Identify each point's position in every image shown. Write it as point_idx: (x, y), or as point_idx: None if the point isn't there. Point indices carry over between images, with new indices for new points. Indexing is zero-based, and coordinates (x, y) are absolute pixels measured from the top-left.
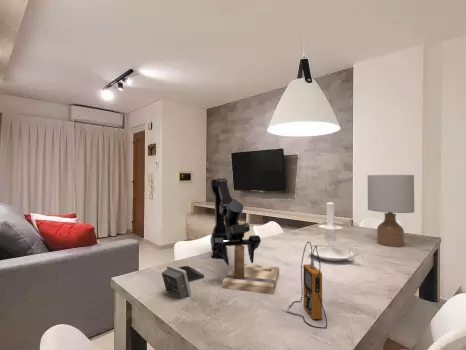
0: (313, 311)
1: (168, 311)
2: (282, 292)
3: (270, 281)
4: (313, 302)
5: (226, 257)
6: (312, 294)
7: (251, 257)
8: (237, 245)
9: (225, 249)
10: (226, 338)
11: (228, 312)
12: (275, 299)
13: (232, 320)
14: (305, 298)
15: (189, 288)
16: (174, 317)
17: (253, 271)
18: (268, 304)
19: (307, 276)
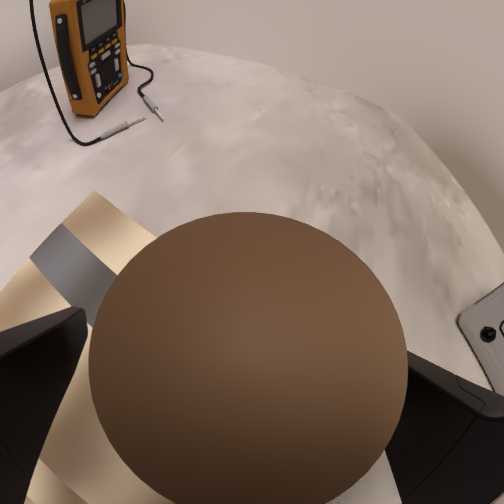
0: (126, 62)
1: (482, 241)
2: (59, 216)
3: (60, 251)
4: (125, 43)
5: (418, 361)
6: (123, 27)
7: (60, 324)
8: (284, 487)
9: (486, 417)
10: (349, 102)
11: (336, 166)
12: (127, 176)
13: (330, 134)
14: (93, 84)
15: (481, 301)
16: (463, 208)
17: (67, 451)
18: (178, 156)
19: (94, 12)
